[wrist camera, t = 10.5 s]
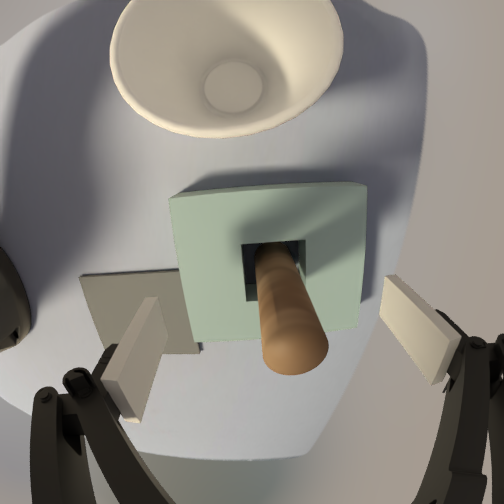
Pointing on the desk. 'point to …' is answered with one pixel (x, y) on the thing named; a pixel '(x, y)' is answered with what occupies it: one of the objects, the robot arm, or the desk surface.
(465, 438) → the robot arm
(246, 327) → the socket block
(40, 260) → the desk surface
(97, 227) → the desk surface
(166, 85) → the cup
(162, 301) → the mat
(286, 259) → the peg
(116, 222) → the desk surface
